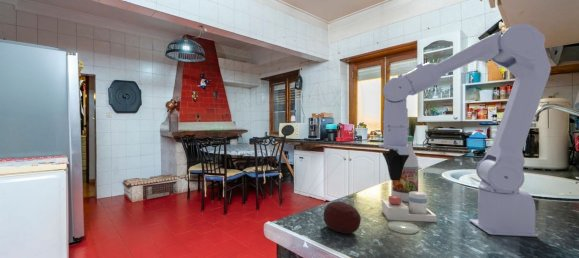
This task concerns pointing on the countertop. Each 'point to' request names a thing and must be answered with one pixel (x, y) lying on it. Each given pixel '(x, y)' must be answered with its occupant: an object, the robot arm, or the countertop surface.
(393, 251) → the countertop surface
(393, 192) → the milk bottle
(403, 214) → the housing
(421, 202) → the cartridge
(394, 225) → the pale green dome
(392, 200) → the plunger
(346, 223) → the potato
